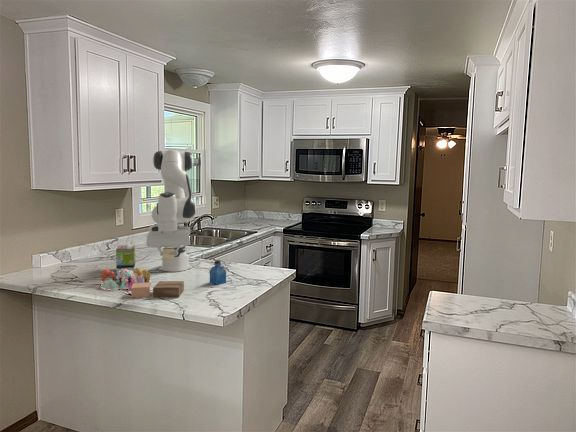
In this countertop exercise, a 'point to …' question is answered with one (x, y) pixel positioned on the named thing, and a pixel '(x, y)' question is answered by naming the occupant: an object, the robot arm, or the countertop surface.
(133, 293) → the terracotta block
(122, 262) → the tea box
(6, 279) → the countertop surface
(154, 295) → the walnut block
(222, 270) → the perfume bottle
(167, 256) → the maple cube
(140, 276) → the candy landscape model
